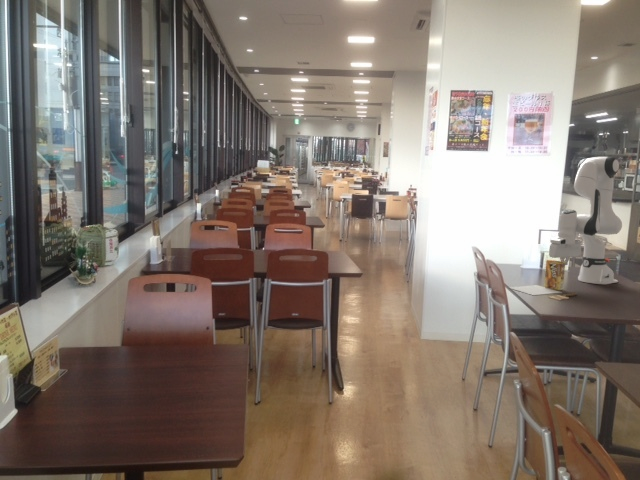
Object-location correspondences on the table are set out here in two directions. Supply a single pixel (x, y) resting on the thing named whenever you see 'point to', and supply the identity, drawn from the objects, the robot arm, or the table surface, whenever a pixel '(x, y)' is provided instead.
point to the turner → (563, 296)
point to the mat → (535, 290)
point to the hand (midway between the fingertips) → (564, 265)
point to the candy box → (554, 274)
